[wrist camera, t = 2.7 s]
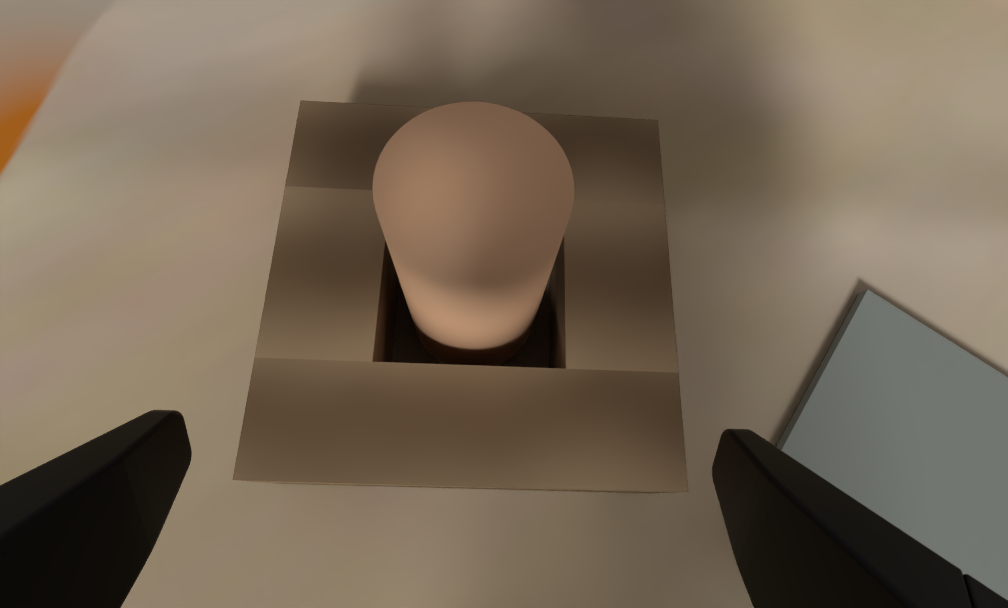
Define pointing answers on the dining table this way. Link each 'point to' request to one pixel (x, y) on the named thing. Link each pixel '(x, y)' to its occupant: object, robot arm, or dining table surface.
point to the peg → (473, 225)
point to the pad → (912, 435)
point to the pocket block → (466, 388)
